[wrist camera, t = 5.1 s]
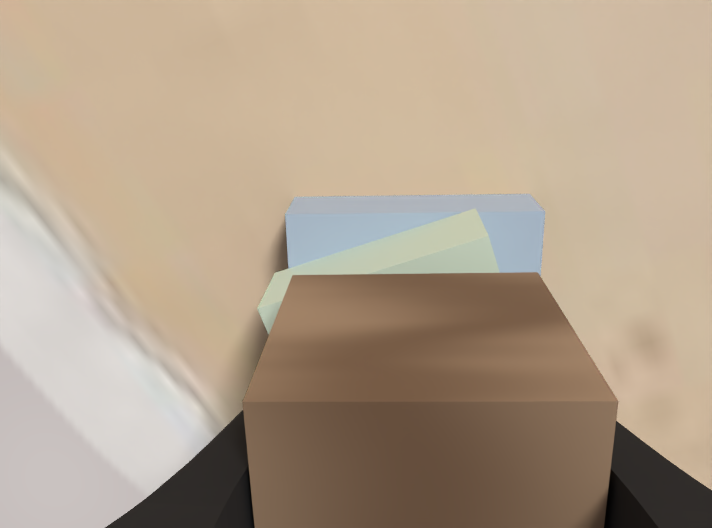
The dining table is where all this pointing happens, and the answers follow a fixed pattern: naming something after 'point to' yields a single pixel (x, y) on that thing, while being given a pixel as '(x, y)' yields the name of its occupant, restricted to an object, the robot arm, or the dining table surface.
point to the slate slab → (413, 224)
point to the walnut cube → (427, 407)
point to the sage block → (399, 257)
